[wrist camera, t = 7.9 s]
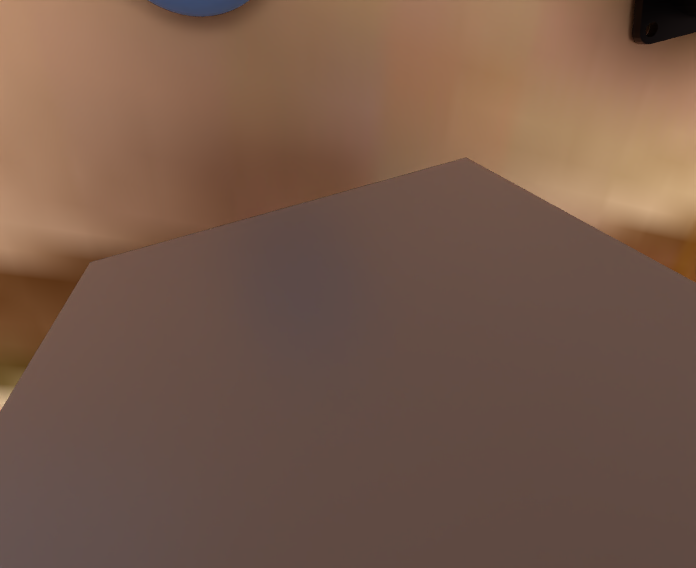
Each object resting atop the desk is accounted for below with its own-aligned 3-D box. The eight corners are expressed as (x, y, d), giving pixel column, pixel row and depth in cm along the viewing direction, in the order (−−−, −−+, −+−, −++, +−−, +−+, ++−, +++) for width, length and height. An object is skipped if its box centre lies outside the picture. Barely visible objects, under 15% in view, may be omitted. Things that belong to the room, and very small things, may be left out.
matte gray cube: (466, 157, 10) (1319, 624, 2) (486, 417, 14) (809, 909, 6) (90, 262, 9) (-654, 1496, 1) (225, 504, 13) (216, 1177, 5)
